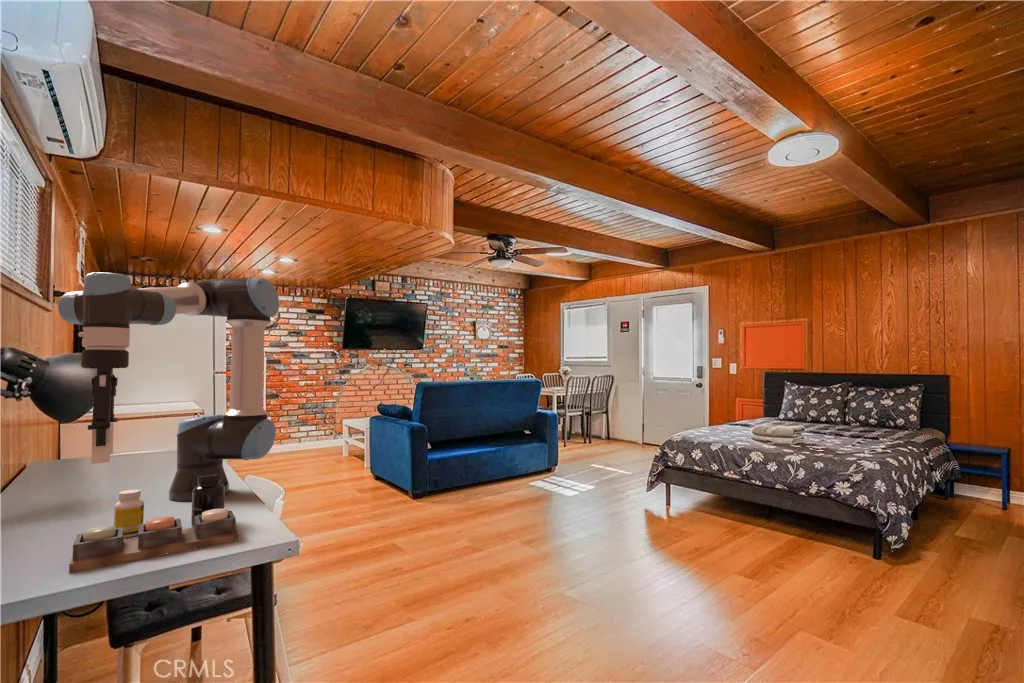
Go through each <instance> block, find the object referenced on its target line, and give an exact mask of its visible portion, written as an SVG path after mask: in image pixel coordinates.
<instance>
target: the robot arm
mask: <svg viewBox="0 0 1024 683" xmlns="http://www.w3.org/2000/svg"><path fill="white" fill-rule="evenodd" d="M57 309H58V314H59V316H60V318H62V320H64V321H65V322H67V323H68V324H72V325H80V326H82V331H80V332H78V334H77V335H78V337H80V338H82V340H81V346H82V347H83V348H85V349H83V350H82V351H81V357H80V358H81V359H80V366H81V368H82V369H96V375H94V377H92V378H91V381H90V382H91V387H92V392H91V397H92V399H93V403H92V404H93V405H92V406H93V407H92V421H91V424H89V425H87V430H88V431H89V430H91V432H92V433H91V455H90V456H91V458H90V459H91V461H90V462H91V463H90V464H91V465H93V464H103V463H104V464H105V463H110V459H111V458H110V457H111V455H113V453H114V424H115V423H117V422H118V419H119V418H118V417H115V414H114V411H115V410H114V408H115V407H114V405H115V404H114V403H115V401H114V399H115V397H116V395H117V386H118V376H117V377H116V376H115V374H114V369H127V368H128V367H129V361H130V360H129V358H130V357H129V356H130V355H129V354H130V352H129V351H128V350H127V349H128V348H129V347H130V337H131V336H130V334H131V329H130V328H131V327H130V325H150V326H162V325H163V326H164V325H167V324H169V323H171V322H172V321H173V319H174V318H175V316H176V315H180V314H181V315H182V314H183V315H186V316H190V317H194V316H211V317H225V318H226V322H227V323H228V325H230V327H231V329H232V330H231V331H232V332H231V355H230V356H231V360H230V384H229V385H230V387H229V388H230V389H229V408H228V409H227V410H226V412H224V413H223V414H214V415H207V416H206V415H205V416H198V417H192V418H187V419H185V418H184V419H183V420H180V421H179V423H178V426H177V434H176V438H177V440H176V441H177V442H176V445H177V446H176V471H175V474H174V477H173V479H172V482H171V485H170V488H169V490H168V499H169V500H171V501H175V502H190V501H191V502H192V492H193V489H194V488H195V487H196V486H198V483H197V481H198V475H200V474H203V473H211V472H217V473H220V474H221V481H220V482H219V483H221V484H222V485H224V487H225V495H226V494H228V492H229V491H230V483H229V481H228V477H227V475H226V472H225V469H224V465H223V464H224V463H223V461H224V460H243V461H250V460H259V459H262V458H264V457H265V456H266V455H268V454H269V452H270V451H271V449H272V448H273V446H274V443H275V440H276V434H277V433H276V432H277V431H276V430H277V429H276V426H275V423H274V420H271V419H269V418H268V413H269V412H268V411H266V410H265V409H264V408H263V399H264V398H263V396H264V395H263V390H264V363H265V362H264V358H265V357H264V355H265V329H266V328H267V327H268V326H269V325H270V324H271V317H273V316H276V315H277V313H278V311H279V309H280V299H279V294H278V292H277V289H276V288H275V286H274V284H273V283H272V282H271V281H270V280H269V279H267V278H263V277H262V278H261V277H252V276H251V277H226V278H225V277H222V278H221V277H219V278H212V279H206V280H205V279H204V280H199V281H193V282H191V281H190V282H184V283H181V284H179V285H178V286H164V287H161V286H160V287H146V288H134V287H133V285H132V282H131V277H129V276H128V275H126V274H121V273H115V272H113V273H112V272H103V271H102V272H101V271H100V272H90V273H87V274H86V275H85V277H84V282H83V289H82V290H77V291H70V292H66V293H64V294H63V295H62V296H61V297H60V299H59V300H58V303H57Z"/></svg>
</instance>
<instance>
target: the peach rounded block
mask: <svg viewBox="0 0 1024 683" xmlns="http://www.w3.org/2000/svg"><path fill="white" fill-rule="evenodd" d="M228 511H229V510H228V509H227V508H224V509H212V510H208V511H205V512H203V513H202V523H204V522H210V521H216V520H223V519H228Z"/></svg>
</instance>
